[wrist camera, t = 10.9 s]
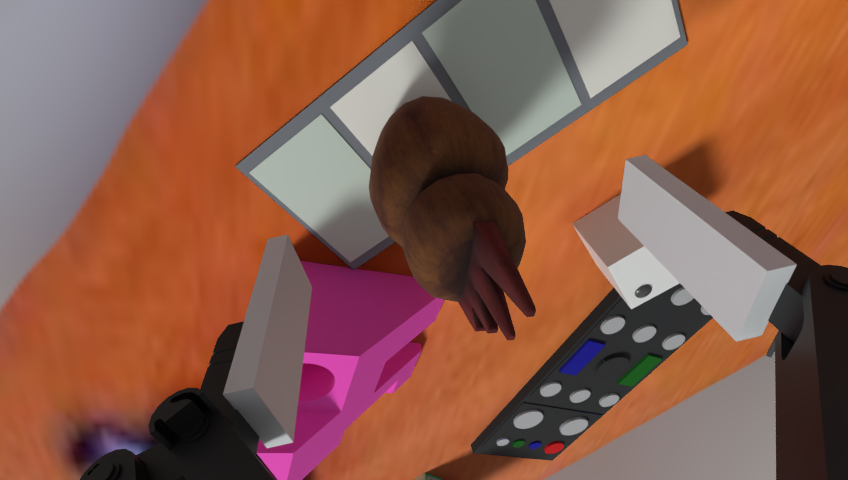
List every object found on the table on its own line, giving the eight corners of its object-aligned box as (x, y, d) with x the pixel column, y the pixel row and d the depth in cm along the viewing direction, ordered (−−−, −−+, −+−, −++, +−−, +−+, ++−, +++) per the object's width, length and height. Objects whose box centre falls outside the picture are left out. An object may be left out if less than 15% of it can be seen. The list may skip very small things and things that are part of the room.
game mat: (635, -164, 17) (638, -165, 17) (685, 43, 23) (688, 44, 23) (235, 165, 23) (234, 167, 23) (353, 268, 28) (353, 270, 28)
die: (636, 182, 28) (686, 223, 24) (655, 228, 31) (703, 272, 27) (571, 223, 29) (608, 268, 25) (595, 263, 32) (632, 310, 28)
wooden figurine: (399, 58, 20) (499, 244, 9) (491, 105, 23) (664, 298, 11) (349, 171, 24) (373, 414, 12) (434, 201, 26) (522, 428, 15)
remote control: (469, 440, 46) (474, 458, 44) (662, 226, 31) (679, 241, 30) (547, 448, 50) (554, 464, 48) (748, 262, 36) (767, 277, 34)
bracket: (264, 358, 32) (236, 499, 24) (278, 256, 27) (250, 393, 19) (408, 368, 36) (428, 494, 28) (447, 280, 31) (485, 403, 22)
